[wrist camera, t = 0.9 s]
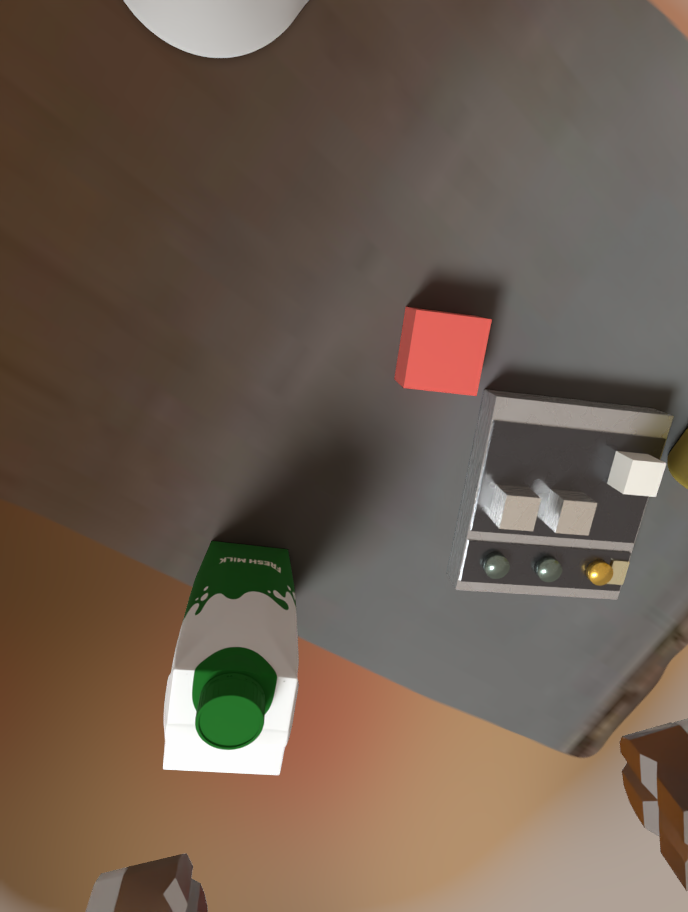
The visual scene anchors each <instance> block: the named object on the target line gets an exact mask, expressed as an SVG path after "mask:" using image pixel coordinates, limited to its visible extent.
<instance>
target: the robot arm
mask: <svg viewBox="0 0 688 912" xmlns="http://www.w3.org/2000/svg"><path fill="white" fill-rule="evenodd" d="M308 1H309V0H124V2H125V3H126V5H127V6H128V7H129V9H130V10H131V11H132V12H133V14H134V15H135V16H136V17H137V18H138V19H139V20H140V21H141V22H142V23H143V24H144V25H145V26H146V27H147V28H148V29H149V30H150V31H152V32H153V33H154V34H155V35H157V36H158V37H159V38H161V39H162V40H164V41H165V42H167V43H169V44H171V45H172V46H174V47H176V48H179V49H181V50H183V51H186V52H188V53H192V54H195V55H199V56H204V57H211V58H229V57H236V56H241V55H245V54H248V53H251V52H254V51H256V50H258V49H260V48H262V47H264V46H266V45H267V44H269V43H271V42H272V41H273V40H275V39H276V38H277V37H278V36H279V35H281V34H282V33H283V32H284V31H285V30H286V29H287V28H288V27H289V25H290V24H291V23H292V22H293V21H294V19H295V18H296V17H297V15H298V14H299V12H300V11H301V10H302V8H303V7H304V6H305V4H306V3H307V2H308ZM620 752H621V754H622V755H623V757H624V758H625V760H626V761H627V764H626V765H625V767H624V768H623V770H622V776H623V784H624V788H625V791H626V793H627V796H628V799H629V802H630V804H631V806H632V808H633V810H634V812H635V814H636V815H637V817H638V818H639V820H640V821H641V823H642V825H643V826H644V828H646V829H648V830H649V831H651V832H653V833H654V834H656V835H658V836H659V837H660V851H661V854H662V855H663V857H664V858H665V860H666V861H667V863H668V864H669V866H670V867H671V869H672V870H673V872H674V873H675V875H676V876H677V878H678V879H679V880H680V882H681V884H682V885H683V886H684V888H685V890H686V891H688V719H685V720H681V721H677V722H674V723H667V724H664V725H660V726H657V727H653V728H650V729H646V730H643V731H639V732H635V733H632V734H628V735H625V736H622V737H621V740H620ZM192 869H193V865H192V863H191V861H190V859H189V857H188V855H187V854H181V855H176V856H172V857H168V858H164V859H160V860H156V861H151V862H147V863H142V864H138V865H134V866H129V867H126V868H122V869H118V870H114V871H110V872H106V873H102V874H101V875H100V876H99V878H98V879H97V881H96V883H95V884H94V886H93V889H92V893H91V896H90V899H89V903H88V906H87V909H86V912H208V908H207V903H206V898H205V894H204V891H203V888H202V886H201V884H200V883H199V882H197V881H195V880H193V879H191V877H192Z"/></svg>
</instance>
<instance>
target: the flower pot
mask: <svg viewBox="0 0 688 912" xmlns="http://www.w3.org/2000/svg"><path fill="white" fill-rule="evenodd" d="M667 463H668V468H669V471H670V473H671V474H672V476H673V477H674V478H675V479H676V480H677V481H678V482H679V483H680V484H681V485H683V486H684V487H685V488H687V489H688V428H687V429H686V431H685V432H684V434H683V435H682V436H681V438H680V439H679V441H678V442H677V443H676V445H675V446H674V447H673V449H672V450H671V452H670V453H669V455H668V462H667Z"/></svg>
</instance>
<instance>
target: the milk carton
mask: <svg viewBox="0 0 688 912" xmlns="http://www.w3.org/2000/svg"><path fill="white" fill-rule="evenodd" d="M297 672H298V637H297V617H296V600H295V588H294V581H293V576H292V570H291V564H290V558H289V552H288V549H280V548H271V547H262V546H253V545H244V544H235V543H226V542H217V541H211V543H210V546H209V548H208V550H207V553H206V555H205V557H204V559H203V562H202V564H201V566H200V569H199V571H198V573H197V576H196V578H195V581H194V584H193V588H192V591H191V594H190V597H189V601H188V605H187V608H186V612H185V616H184V619H183V623H182V627H181V630H180V634H179V638H178V641H177V645H176V650H175V655H174V659H173V665H172V671H171V674H170V675H169V677H168V682H167V689H166V695H165V704H164V733H165V749H164V761H163V769H168V770H187V771H188V770H189V771H206V772H226V773H227V772H228V773H247V774H266V775H267V774H268V775H279V774H280V770H281V765H282V760H283V755H284V749H285V746H286V745H287V742H288V739H289V736H290V732H291V727H292V723H293V717H294V711H295V703H296V698H297V692H298V679H297Z"/></svg>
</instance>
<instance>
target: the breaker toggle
mask: <svg viewBox="0 0 688 912" xmlns="http://www.w3.org/2000/svg"><path fill="white" fill-rule="evenodd" d="M665 466H666V463H665V462H663V461H661V460H659V459H657V458H655V457H653V456H651V455H649V454H642V453H632V452H622V451H616V453H615V457H614V460H613V464H612V467H611V471H610V474H609V478H608V481H607V484H608V485H610V486H612V487H613V488H615V489H616V490H618V491H619V492H621V493H622V494H628V495H639V496H650V497H656V495H657V492H658V488H659V485H660V482H661V479H662V476H663V472H664V469H665Z"/></svg>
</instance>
